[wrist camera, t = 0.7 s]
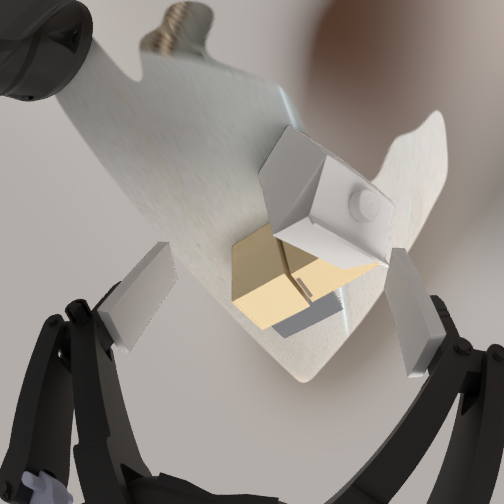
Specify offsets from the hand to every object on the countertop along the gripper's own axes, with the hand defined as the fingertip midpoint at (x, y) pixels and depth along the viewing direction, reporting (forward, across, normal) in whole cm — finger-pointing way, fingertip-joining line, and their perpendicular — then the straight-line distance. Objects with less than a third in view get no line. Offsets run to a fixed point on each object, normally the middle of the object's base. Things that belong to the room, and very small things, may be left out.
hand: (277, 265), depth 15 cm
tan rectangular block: (+20, -4, -10) cm, 23 cm away
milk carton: (+21, 0, +2) cm, 21 cm away
